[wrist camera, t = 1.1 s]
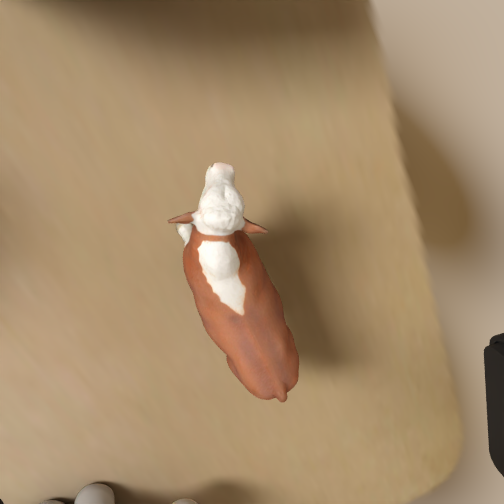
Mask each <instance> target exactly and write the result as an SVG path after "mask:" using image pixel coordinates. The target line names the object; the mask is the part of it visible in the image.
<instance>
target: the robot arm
mask: <svg viewBox="0 0 504 504" xmlns="http://www.w3.org/2000/svg"><path fill="white" fill-rule="evenodd" d="M484 364H485V381H486V382H485V383H486V401H487V420H488V436H489V437H488V438H489V452H490V456H491V459H492V461H493V463H494V465H495V466H496V468H497V469H498V471H499V472H500V473H501V474H502V475H503V477H504V333H502V334H499V335H495V336H493V337H492V338H491V340H490V345H489V346H487V347H485V349H484ZM0 504H4V503H3V502H2V500H1V499H0Z"/></svg>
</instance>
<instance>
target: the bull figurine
mask: <svg viewBox="0 0 504 504" xmlns="http://www.w3.org/2000/svg"><path fill="white" fill-rule="evenodd" d="M234 177H235V170H234V167H233V166H232V165H230V164H227V163H222V162H217V163H214V164H212V165H211V166H209V168H208V170H207V173H206V177H205V180H206V185H205V188H204V190H203V193H202V196H201V199H200V202H199V207H198V209H197V211H195V212H188V213H186V214H183V215H181V216H178V217H175V218H172V219H170V220H168V223H177V225H176V230H177V232H178V233H179V234H180V235H181V237H182V238H183V241H184V242H185V248H184V251H183V265H184V272H185V275H186V278H187V281H188V283H189V286H190V288H191V290H192V292H193V295H194V299H195V303H196V307H197V309H198V312H199V314H200V316H201V318H202V322H203V325H204V327H205V329H206V331H207V333H208V335H209V336H210V337H211V339H212V340H213V341H214V342H215V343H216V345H217V346H218V347H219V348H220V349H221V350H222V351H223V352H224V353H226V354H227V363H228V365H229V368H230V369H231V371H232V372H233V373H234V375H235V376H236V377H237V378H238V379H239V380H240V382H241V383H242V384H243V385H244V386H245V387H246V388H247V390H248V391H249V392H250V393H252V394H253V395H254V396H256V397H257V398H260V399H266V400H270V399H273V398H277V399H278V400H279V401H280V402H285V401H286V400H287V392H288V391H290V390H291V389H292V388H293V387H294V386H295V385H296V383H297V381H298V370H299V356H298V353H297V350H296V347H295V343H294V339H293V336H292V333H291V331H290V329H289V328H288V326H287V325H286V322H285V319H284V314H283V307H282V302H281V299H280V296H279V294H278V292H277V290H276V289H275V287H274V286H273V284H272V282H271V280H270V278H269V276H268V274H267V272H266V270H265V268H264V266H263V264H262V262H261V260H260V258H259V255H258V253H257V251H256V249H255V247H254V246H253V244H252V242H251V241H250V239H249V237H248V236H247V235H246V234H245V233H244V232H246V233H264V234H266V233H268V231H267V230H266V229H265V228H263V227H261V226H259V225H257V224H255V223H252V222H250V221H249V220H247V219H245V218H244V217H243V212H244V208H245V205H244V201H243V197H242V196H241V194H240V193H239V192H238V190H237V189H236V188H235V185H234ZM193 224H194V225H193ZM243 231H244V232H243Z"/></svg>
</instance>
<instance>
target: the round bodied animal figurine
mask: <svg viewBox="0 0 504 504" xmlns="http://www.w3.org/2000/svg"><path fill="white" fill-rule="evenodd" d="M114 503H115V498H114V493H113V491H112V489H111V488H110V487H108V486H107V485H104V484H98V483H94V484H89V485H87V486H85V487H84V488H83V489H82V490H80V492H79V493H78V495H77V497H76V499H75V503H74V504H114ZM40 504H64V503H63V502H60V501H57V500H47V501H44V502H42V503H40ZM172 504H198V503H197V502H196V501H194V500H192V499H188V498H183V499H179V500H176V501H175V502H173V503H172Z"/></svg>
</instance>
